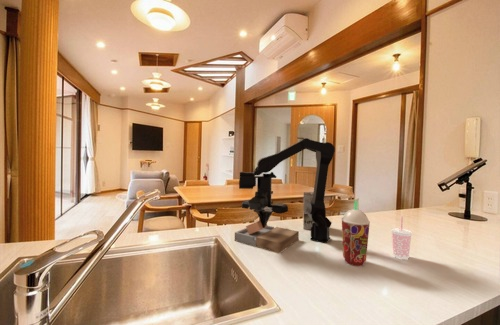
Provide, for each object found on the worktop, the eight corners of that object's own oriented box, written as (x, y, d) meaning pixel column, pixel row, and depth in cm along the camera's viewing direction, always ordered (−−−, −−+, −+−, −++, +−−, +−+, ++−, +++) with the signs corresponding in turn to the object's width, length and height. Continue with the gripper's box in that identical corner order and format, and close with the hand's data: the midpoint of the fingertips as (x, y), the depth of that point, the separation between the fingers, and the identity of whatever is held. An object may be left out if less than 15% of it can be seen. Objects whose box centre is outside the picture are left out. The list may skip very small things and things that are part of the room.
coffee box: (317, 230, 111) (318, 195, 111) (303, 229, 113) (303, 194, 112) (316, 224, 120) (316, 192, 120) (302, 223, 122) (303, 191, 121)
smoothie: (366, 270, 73) (368, 204, 72) (338, 263, 77) (339, 201, 77) (370, 260, 80) (371, 200, 79) (343, 254, 84) (344, 197, 84)
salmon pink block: (267, 226, 100) (264, 218, 101) (260, 230, 95) (256, 221, 96) (256, 230, 103) (253, 222, 104) (249, 234, 99) (245, 226, 99)
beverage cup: (387, 255, 84) (388, 215, 83) (394, 251, 88) (396, 213, 87) (407, 262, 79) (408, 219, 78) (414, 257, 83) (415, 216, 82)
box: (276, 234, 104) (276, 227, 104) (255, 246, 91) (255, 237, 91) (256, 230, 110) (256, 223, 110) (234, 240, 97) (234, 232, 97)
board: (298, 239, 98) (298, 231, 98) (279, 252, 85) (279, 243, 85) (276, 234, 104) (276, 226, 104) (256, 246, 91) (256, 237, 91)
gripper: (233, 189, 96) (233, 228, 97) (275, 193, 86) (274, 237, 86) (249, 186, 106) (249, 222, 106) (288, 190, 95) (288, 229, 95)
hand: (263, 227), depth 98 cm, fingers closed, pressing on salmon pink block
